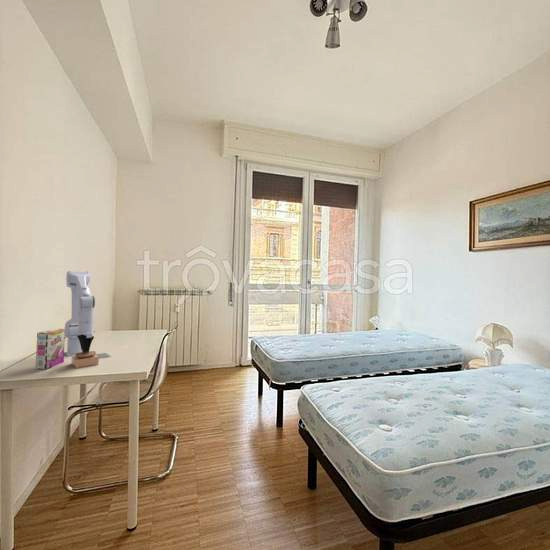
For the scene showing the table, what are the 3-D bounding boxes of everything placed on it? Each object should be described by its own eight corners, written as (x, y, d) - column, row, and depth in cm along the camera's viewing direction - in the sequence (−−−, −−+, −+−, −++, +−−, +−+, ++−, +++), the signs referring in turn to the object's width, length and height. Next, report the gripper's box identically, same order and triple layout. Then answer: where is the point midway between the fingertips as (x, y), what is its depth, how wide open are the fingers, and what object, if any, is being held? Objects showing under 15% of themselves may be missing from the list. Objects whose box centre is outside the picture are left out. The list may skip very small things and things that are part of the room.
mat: (84, 356, 154) (84, 356, 154) (105, 353, 161) (105, 352, 161) (89, 361, 147) (89, 360, 147) (111, 357, 154) (111, 356, 154)
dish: (71, 364, 141) (71, 356, 141) (93, 361, 147) (93, 353, 147) (75, 369, 134) (75, 360, 134) (98, 365, 140) (98, 356, 140)
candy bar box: (46, 370, 132) (47, 332, 132) (35, 369, 132) (36, 332, 132) (64, 362, 143) (65, 328, 143) (54, 362, 144) (55, 328, 144)
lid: (72, 355, 140) (73, 345, 140) (91, 351, 146) (91, 342, 146) (79, 358, 135) (79, 348, 135) (98, 354, 141) (98, 345, 141)
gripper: (99, 323, 138) (99, 352, 138) (91, 319, 149) (91, 346, 148) (81, 324, 133) (81, 355, 133) (74, 320, 144) (74, 349, 144)
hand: (85, 350), depth 140 cm, fingers closed on lid, 3 cm apart
